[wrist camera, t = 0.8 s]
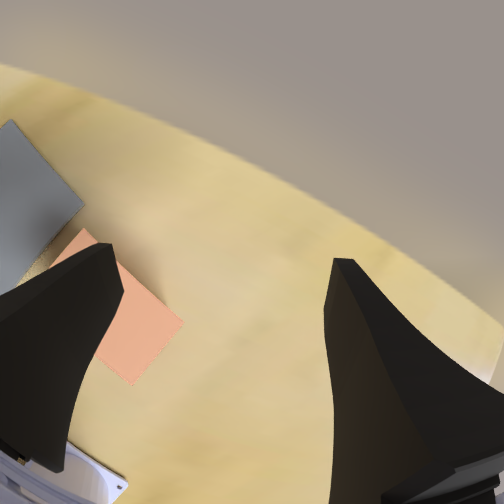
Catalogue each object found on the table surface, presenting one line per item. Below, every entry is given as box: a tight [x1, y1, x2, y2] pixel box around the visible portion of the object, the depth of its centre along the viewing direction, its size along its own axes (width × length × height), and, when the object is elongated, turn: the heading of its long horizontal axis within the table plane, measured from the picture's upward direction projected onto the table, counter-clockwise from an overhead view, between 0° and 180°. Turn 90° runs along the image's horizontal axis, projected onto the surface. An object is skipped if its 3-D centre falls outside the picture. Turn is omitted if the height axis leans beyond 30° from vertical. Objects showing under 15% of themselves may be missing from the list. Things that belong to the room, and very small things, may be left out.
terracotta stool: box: [49, 228, 184, 386], centre depth 18 cm, size 5×8×6 cm, turn 50°
